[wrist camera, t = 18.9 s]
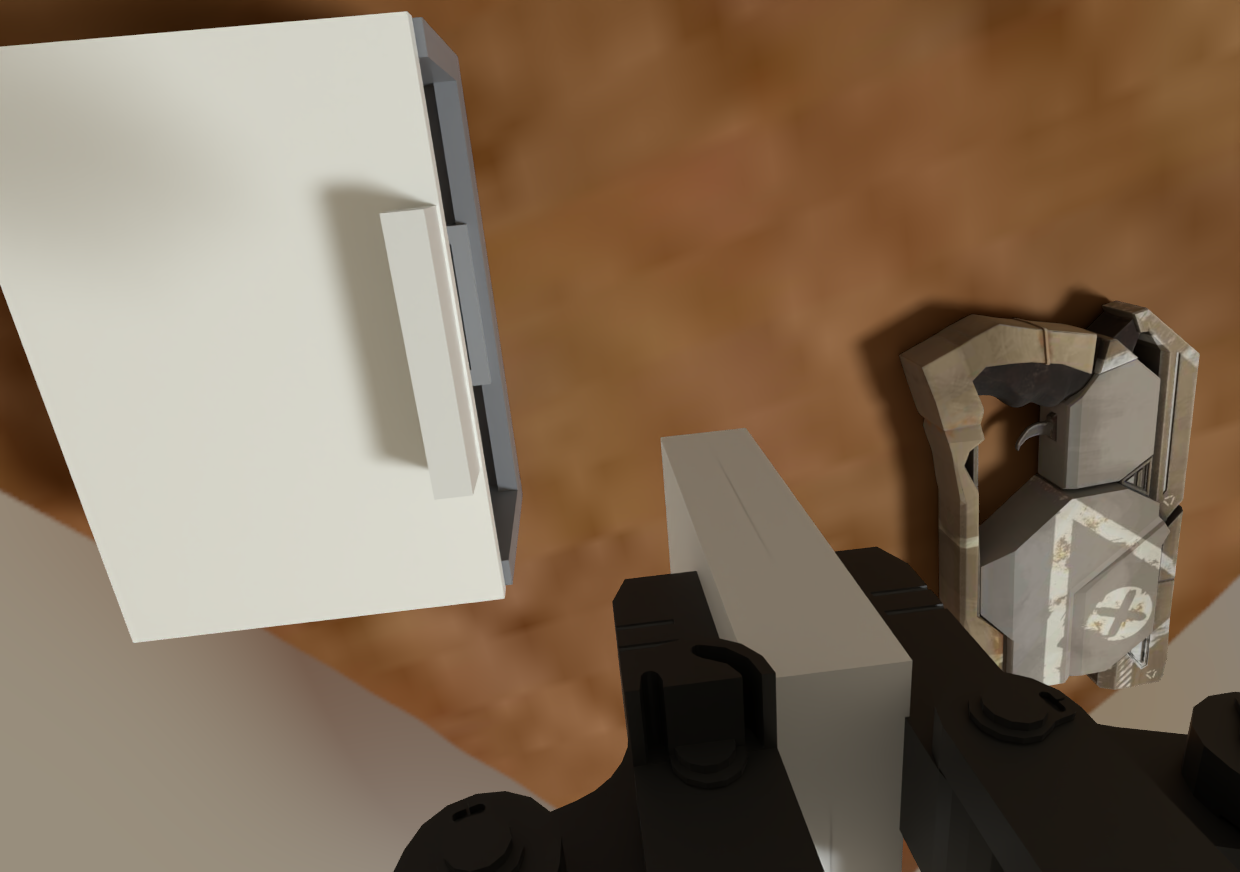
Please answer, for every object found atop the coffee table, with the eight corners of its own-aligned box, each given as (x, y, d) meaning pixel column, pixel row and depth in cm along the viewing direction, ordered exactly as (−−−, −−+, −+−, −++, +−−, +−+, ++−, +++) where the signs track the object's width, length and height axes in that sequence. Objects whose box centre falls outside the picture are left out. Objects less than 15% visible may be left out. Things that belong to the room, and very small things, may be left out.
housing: (98, 88, 33) (-69, 59, 25) (457, 56, 34) (421, 17, 25) (230, 528, 41) (139, 628, 32) (522, 495, 42) (512, 584, 33)
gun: (932, 730, 45) (1172, 684, 46) (925, 339, 37) (1220, 286, 37) (904, 688, 49) (1127, 646, 49) (892, 324, 40) (1161, 275, 41)
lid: (-66, 57, 24) (-161, 40, 21) (411, 15, 25) (389, -7, 22) (143, 631, 32) (97, 683, 29) (505, 588, 32) (499, 634, 29)
